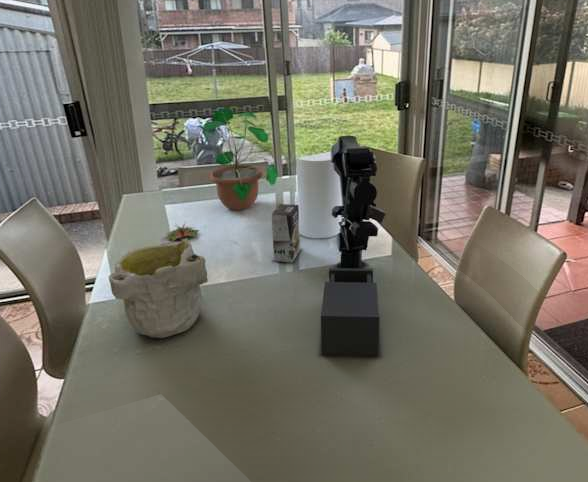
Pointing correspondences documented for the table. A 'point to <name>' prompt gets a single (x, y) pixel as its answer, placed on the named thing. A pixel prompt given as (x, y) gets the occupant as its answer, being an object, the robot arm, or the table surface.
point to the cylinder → (317, 196)
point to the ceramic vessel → (160, 287)
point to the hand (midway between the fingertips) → (350, 250)
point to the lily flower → (181, 233)
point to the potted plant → (237, 179)
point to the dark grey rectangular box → (350, 319)
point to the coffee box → (286, 232)
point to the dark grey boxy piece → (351, 275)
